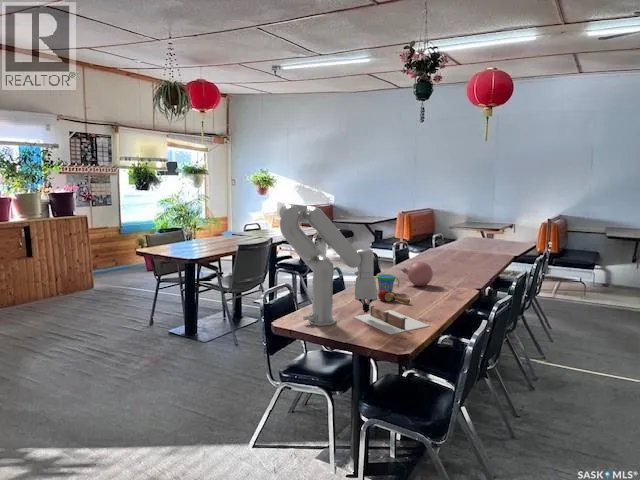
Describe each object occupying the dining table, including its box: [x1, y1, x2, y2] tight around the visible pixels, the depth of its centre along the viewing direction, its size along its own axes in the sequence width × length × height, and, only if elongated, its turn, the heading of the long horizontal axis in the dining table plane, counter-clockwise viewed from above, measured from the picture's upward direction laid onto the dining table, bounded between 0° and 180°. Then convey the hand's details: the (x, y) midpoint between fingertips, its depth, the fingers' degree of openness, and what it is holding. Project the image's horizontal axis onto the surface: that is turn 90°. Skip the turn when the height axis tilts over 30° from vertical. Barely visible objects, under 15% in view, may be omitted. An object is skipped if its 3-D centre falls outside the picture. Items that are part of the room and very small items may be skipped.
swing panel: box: [369, 305, 386, 321], centre depth 230 cm, size 11×2×4 cm, turn 30°
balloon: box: [400, 261, 433, 287], centre depth 298 cm, size 15×20×15 cm
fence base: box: [385, 312, 405, 329], centre depth 219 cm, size 2×13×5 cm, turn 30°
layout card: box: [353, 309, 430, 335], centre depth 226 cm, size 23×29×1 cm
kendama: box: [377, 290, 411, 305], centre depth 260 cm, size 8×6×18 cm
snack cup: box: [374, 273, 400, 293], centre depth 280 cm, size 16×10×10 cm
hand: (366, 311), depth 229 cm, fingers closed
